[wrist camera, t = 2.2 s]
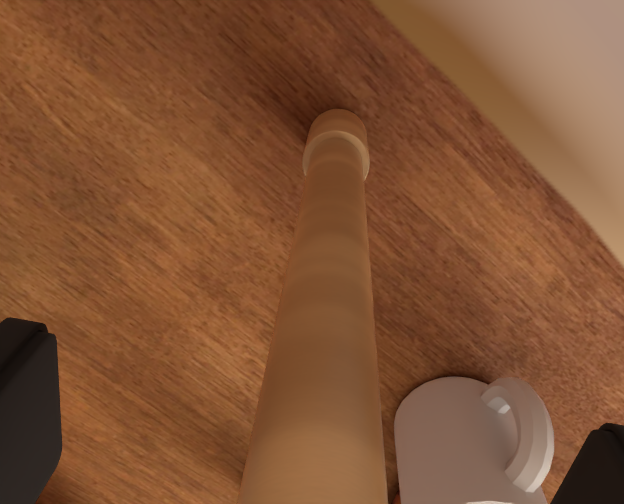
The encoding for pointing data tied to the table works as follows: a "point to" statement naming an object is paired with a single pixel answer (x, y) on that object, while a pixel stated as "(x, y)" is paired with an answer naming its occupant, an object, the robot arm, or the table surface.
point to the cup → (473, 443)
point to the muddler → (323, 342)
